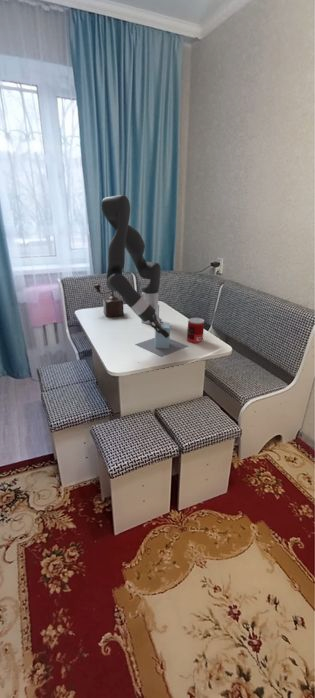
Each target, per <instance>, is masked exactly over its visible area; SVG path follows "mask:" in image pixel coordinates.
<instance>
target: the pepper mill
mask: <svg viewBox="0 0 315 698" xmlns="http://www.w3.org/2000/svg"><path fill="white" fill-rule="evenodd" d="M93 289H95V291H96V292H95V293H98V294H100V295H105V294H109V293H111V294H110V296H108V297H103V298H102V299H103V300H102V302H103V303H102V305H103V312H102V313H103V315H104V316H105V317H106V318H116V317H117V318H119V317H124V301H123V299H122V298H121V297H120V296H116V295H114V294H115V293H114V292H115V291H111V290H109V291H108V290H107V291H103V292H102V291H101V285H100V284H99V283H96V284H94V286H93Z"/></svg>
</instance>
